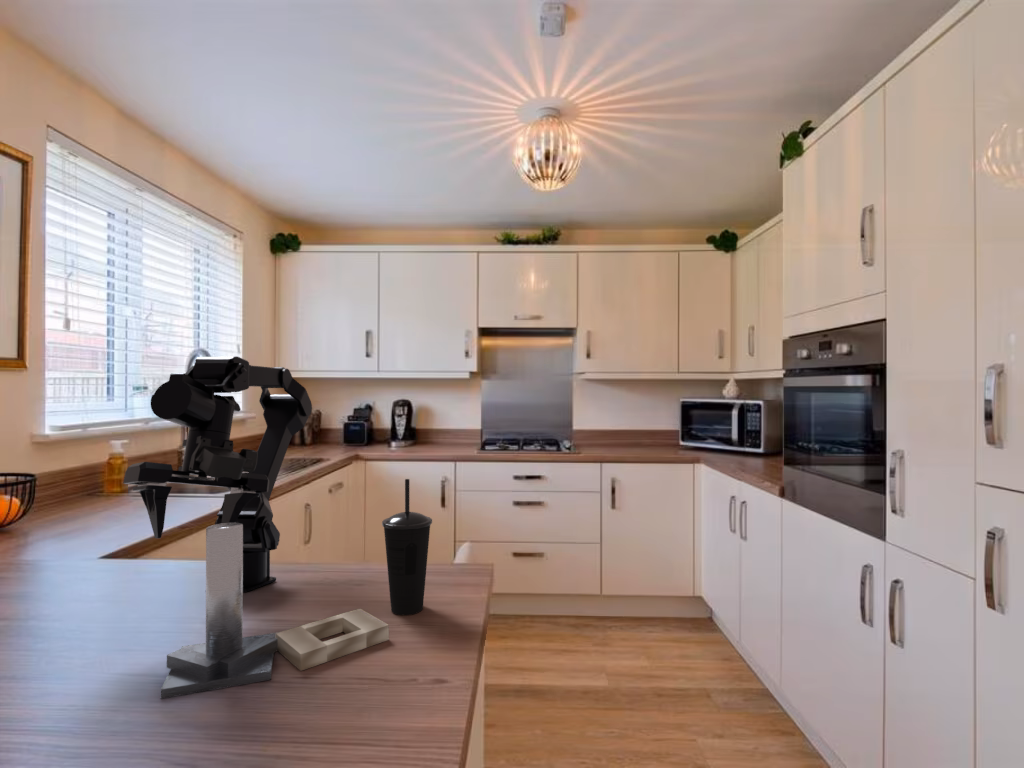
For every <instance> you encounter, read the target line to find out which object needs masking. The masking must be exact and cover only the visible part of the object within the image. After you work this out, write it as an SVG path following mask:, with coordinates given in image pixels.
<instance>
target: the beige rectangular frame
mask: <svg viewBox="0 0 1024 768" xmlns="http://www.w3.org/2000/svg"><path fill="white" fill-rule="evenodd" d="M389 627H390V625H389V624H388V623H386V622H385V621H383V620H380V619H379V618H377V617H376V616H375V615H372V614H370V613H369V612H367V611H365V610H363V609H361V608H357V609H354V610H350V611H346V612H342V613H340V614H337V615H333V616H330V617H327V618H323V619H320V620H316V621H313V622H309V623H306V624H303V625H300V626H296V627H293V628H289V629H285V630H282V631H279V632H275V633H276V636H275V638H277V639H278V651H277V652H278V653H279V654H281V655H282V656H283V657H284V658H285V659H286V660H287V661H289V662H290V664H292V665H293V666H294V667H295V668H297V669H298V670H299V671H300V672H301V671H304V670H307V669H310V668H313V667H316V666H319V665H321V664H324V663H328V662H330V661H334V660H335V659H338V658H341V657H345V656H347V655H350V654H353V653H355V652H359V651H362V650H364V649H366V648H367V649H368V648H369V647H372V646H375V645H378V644H380V643H384V642H387V641H389V638H390V637H389V634H390V633H389V631H390V630H389ZM340 633H344V634H342V635H339V636H337V637H334V638H331V639H328V640H324V641H322V640H321V639H324V638H328V637H330V636H334V635H337V634H340Z"/></svg>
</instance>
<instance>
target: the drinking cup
mask: <svg viewBox="0 0 1024 768" xmlns="http://www.w3.org/2000/svg"><path fill="white" fill-rule="evenodd" d="M381 521H382V522H381V526H382V527H383V530H384V531H383V533H384V543H385V554H386V565H387V567H386V568H387V578H388V589H389V590H388V591H389V598H390V599H389V600H390V601H389V602H390V609H391V613H392V614H395V615H398V616H410V615H415V614H417V613H420V612H421V611H423V608H424V599H425V588H426V577H427V568H428V567H427V566H428V556H429V555H428V554H429V544H430V542H429V541H430V533H431V532H430V530H431V525H432V524H433V519H432V518H431V517H429V516H426V515H425V514H423V513H421V512H416V511H415V512H414V511H410V478H405V479H404V511H403V512H399V513H398V512H397V513H395V514H393V515H391V516H389V517H387V518H385V519H383V520H381Z"/></svg>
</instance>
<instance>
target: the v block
mask: <svg viewBox="0 0 1024 768" xmlns="http://www.w3.org/2000/svg"><path fill="white" fill-rule="evenodd" d="M276 633H277V632H273V633H265V634H258V635H257V634H256V635H251V636H244V637H243V647H242V648H240V649H238V650H236V651H234V652H232V653H230V654H228V655H226V656H224V657H222V658H217V657H214V656H210V655H207V654H206V642H203V643H197V644H190V645H188V644H187V645H183V646H181V648H179V649H178V650H175V651H173V652H170V653H169V654H166V668H167V669H169V672H168V674H167V676H166V678H165V680H164V683H163V684H162V685H161V686H162V687H161V688H160V699H166V698H173V697H180V696H185V695H190V694H196V693H201V692H202V693H203V692H207V691H212V690H217V689H219V690H220V689H225V688H231V687H236V686H243V685H249V684H254V683H255V684H256V683H259V682H265V681H271V678H272V671H273V670H272V669H273V662H274V655H275V652H279V651H278V639H277V638H276Z"/></svg>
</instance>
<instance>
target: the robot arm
mask: <svg viewBox="0 0 1024 768" xmlns="http://www.w3.org/2000/svg"><path fill="white" fill-rule="evenodd" d="M250 387H254V388H256V387H257V388H259V387H260V389H261V395H260V396H259V403H260V406H261V408H262V410H263V413H262V415H263V418H264V421H265V424H266V429H265V431H264V433H263V435H262V438H261V441H260V444H259V446H258V449H257V450H254V449H249V448H242V449H241V450H240V452H237V451H234V440H231V432H232V427H233V426H232V425H233V418H234V412H236V413H237V412H240V411H241V407H240V404H239V403H238V402H237V401H236V400H235V396H233V395H219V394H225V393H226V394H231V393H239V392H243V391H246V390H248V389H249V388H250ZM269 389H283V390H284V392H286V393H274V394H271V392H270V390H269ZM150 408H151V411H152V413H153V414H154V415H155V416H156V417H158V418H160V419H162V420H165V421H167V422H170V423H174V424H176V425H180V426H183V427H186V428H188V432H187V438H186V439H183V440H182V441H183V443H182V447H183V448H184V456H183V461H182V465H181V466H178V470H176V469H175V470H174V469H173V466H172V464H170V463H169V464H168V463H159V462H152V461H142V462H138V463H133V464H131V465H129V466H128V467H127V469H126V470H125V472H124V478H123V483H122V484H125V485H134V486H133V487H132V491H133V492H139V494H140V497H141V498H142V501H143V504H144V506H145V508H146V510H147V511H146V512H147V515H148V518H149V522H150V525H151V529H152V532H153V536H154V538H155V539H161V538H162V536H163V535H162V534H163V531H164V527H165V518H166V509H167V500H168V497H169V495H170V493H171V490H172V488H173V486H168V484H167V483H169V484H170V483H171V484H183V485H192V486H193V485H195V486H205V487H218V488H227V489H228V490H229V491H230V493H224V495H223V496H224V498H223V502H222V505H221V507H220V510H219V512H217V514H216V516H217V518H216V520H215V522H214V525H215V524H221V523H242V524H243V593H246V592H250V591H253V590H256V589H258V588H261V587H264V586H266V585H268V584H271V583H273V582H275V581H277V577H275V576H271V569H270V568H271V551H274V550H277V549H278V546H279V543H280V537H281V533H280V531H279V530H278V528H277V526H276V525H275V523H274V522H273V518H274V514H273V511H272V508H271V504H270V498H271V495H272V493H273V492H272V491H273V489H274V487H275V485H276V481H277V478H278V475H279V473H280V470H281V467H282V465H283V461H284V460H285V456H286V454H287V451H288V448H289V445H290V442H291V440H292V438H293V436H294V435H295V434H298V432H299V431H301V430H302V429H303V428H304V427H305V426H306V424H307V422H308V419H309V417H310V416H311V414H312V410H313V404H312V401H311V398H310V396H309V394H308V391H307V389H306V388H305V387H304V385H302V384H301V383H300V382H298V381H297V380H296V379H295V378H293V376H292V373H291V371H290V369H289V368H285V367H283V366H281V367H279V366H278V367H275V366H274V367H273V366H272V367H270V366H262V365H261V366H259V365H252V364H250V362H249V361H248V360H246V359H244V358H242V357H240V356H199V357H197V358H195V361H194V363H193V365H191V366H190V367H189V368H188V370H187V371H186V372H185V373H182V372H181V373H180V372H179V373H170V374H169V379H168V381H166V382H163V383H162V384H161V385H159V387H157V389H156V390H155V392H154V393H153V394H152V395H151V398H150Z"/></svg>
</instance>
